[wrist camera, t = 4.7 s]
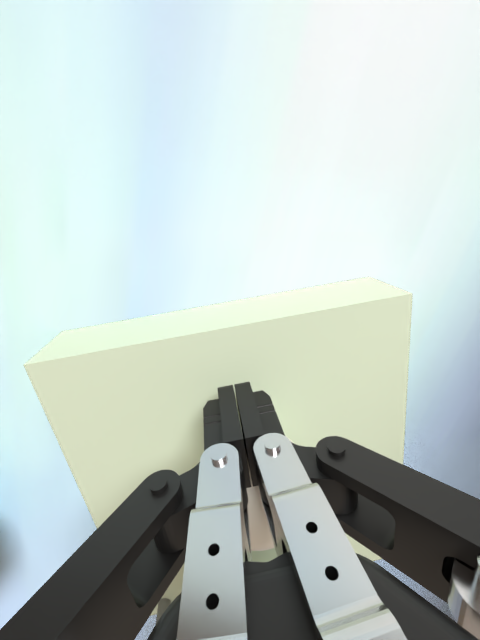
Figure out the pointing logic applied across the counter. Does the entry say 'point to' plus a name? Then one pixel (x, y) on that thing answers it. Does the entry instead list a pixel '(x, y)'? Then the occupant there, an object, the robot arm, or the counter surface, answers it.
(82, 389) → the board
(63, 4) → the counter surface
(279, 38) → the counter surface
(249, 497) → the ball
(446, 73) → the counter surface
